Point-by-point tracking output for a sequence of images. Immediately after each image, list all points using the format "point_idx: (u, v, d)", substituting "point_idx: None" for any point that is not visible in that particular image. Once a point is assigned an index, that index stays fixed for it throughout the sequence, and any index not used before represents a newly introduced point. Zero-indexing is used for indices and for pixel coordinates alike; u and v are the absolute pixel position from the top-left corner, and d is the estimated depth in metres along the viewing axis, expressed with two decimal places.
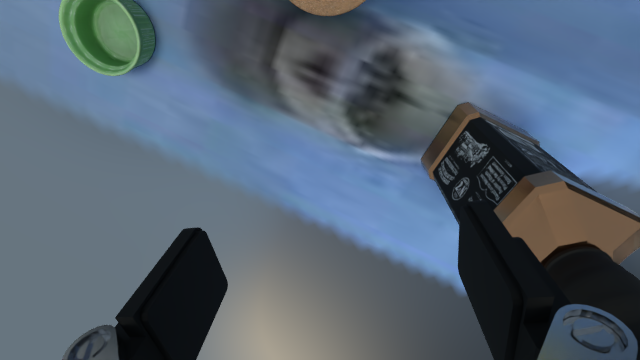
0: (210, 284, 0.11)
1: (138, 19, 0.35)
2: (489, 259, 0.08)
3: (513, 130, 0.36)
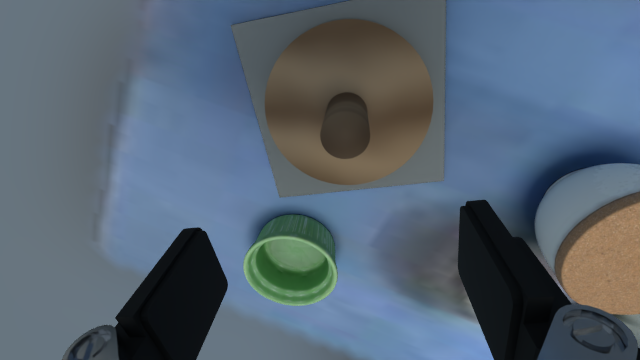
0: (210, 284, 0.11)
1: (333, 254, 0.30)
2: (489, 259, 0.08)
3: None
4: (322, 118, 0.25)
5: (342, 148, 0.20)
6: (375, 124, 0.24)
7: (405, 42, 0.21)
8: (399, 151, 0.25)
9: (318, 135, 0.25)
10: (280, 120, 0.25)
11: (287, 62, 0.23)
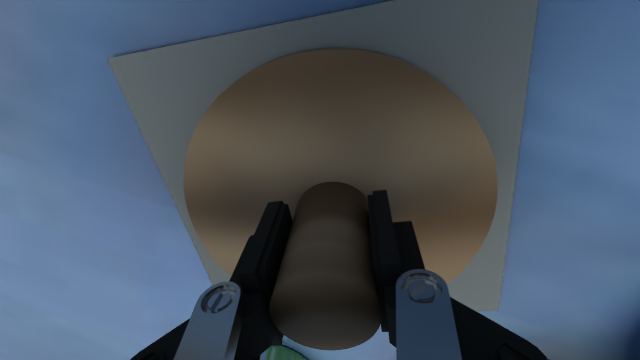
0: None
1: None
2: (371, 237, 0.09)
3: None
4: None
5: (320, 333, 0.09)
6: None
7: (449, 95, 0.10)
8: None
9: None
10: (216, 223, 0.14)
11: (217, 129, 0.12)
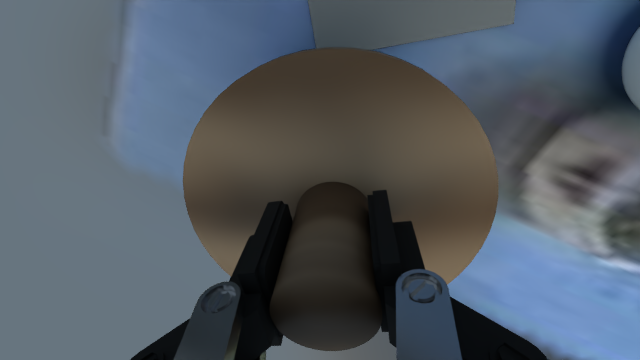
0: None
1: None
2: (371, 237, 0.09)
3: None
4: None
5: (320, 334, 0.09)
6: None
7: (449, 95, 0.10)
8: None
9: None
10: (216, 223, 0.14)
11: (217, 129, 0.12)
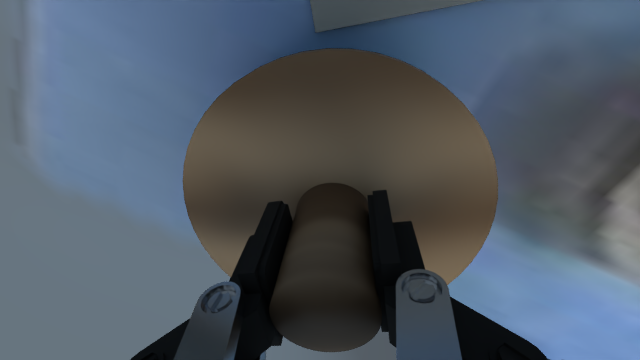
0: None
1: None
2: (371, 237, 0.09)
3: None
4: None
5: (320, 336, 0.09)
6: None
7: (449, 96, 0.10)
8: None
9: None
10: (215, 224, 0.14)
11: (216, 130, 0.12)
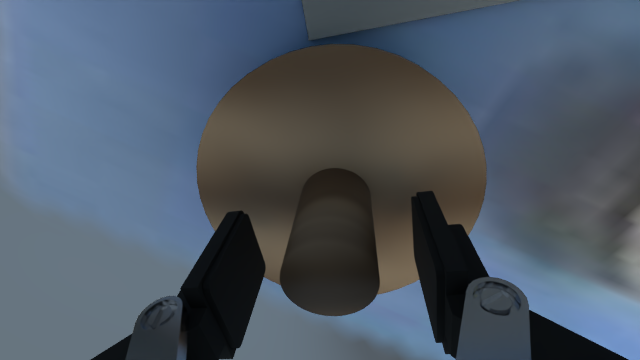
0: (253, 264, 0.12)
1: None
2: (425, 241, 0.09)
3: None
4: (295, 206, 0.15)
5: (324, 300, 0.10)
6: (384, 216, 0.14)
7: (442, 88, 0.12)
8: None
9: (289, 230, 0.15)
10: (226, 207, 0.15)
11: (229, 118, 0.13)
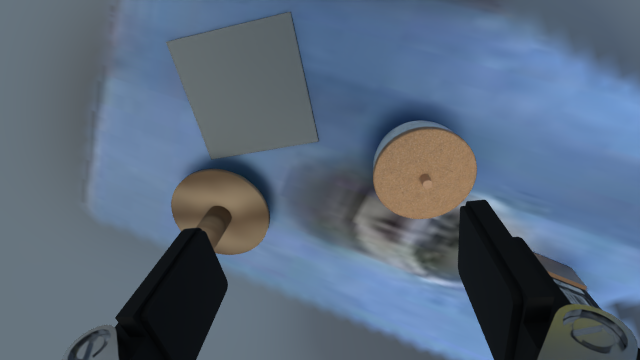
0: (210, 284, 0.11)
1: None
2: (489, 259, 0.08)
3: (564, 279, 0.42)
4: None
5: None
6: (237, 221, 0.41)
7: (243, 182, 0.38)
8: (255, 236, 0.42)
9: None
10: (182, 219, 0.42)
11: (181, 191, 0.40)
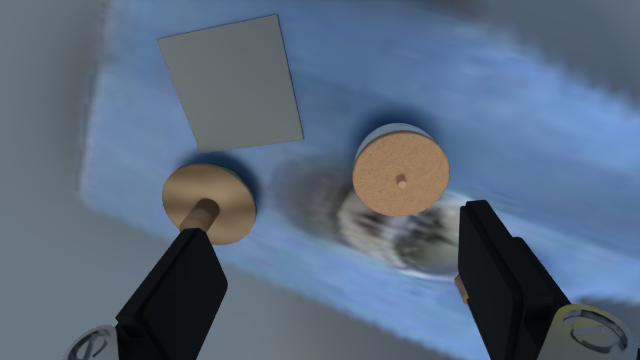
0: (210, 284, 0.11)
1: None
2: (489, 259, 0.08)
3: None
4: None
5: None
6: (225, 213, 0.43)
7: (230, 176, 0.40)
8: (242, 228, 0.44)
9: None
10: (173, 210, 0.43)
11: (171, 183, 0.41)
